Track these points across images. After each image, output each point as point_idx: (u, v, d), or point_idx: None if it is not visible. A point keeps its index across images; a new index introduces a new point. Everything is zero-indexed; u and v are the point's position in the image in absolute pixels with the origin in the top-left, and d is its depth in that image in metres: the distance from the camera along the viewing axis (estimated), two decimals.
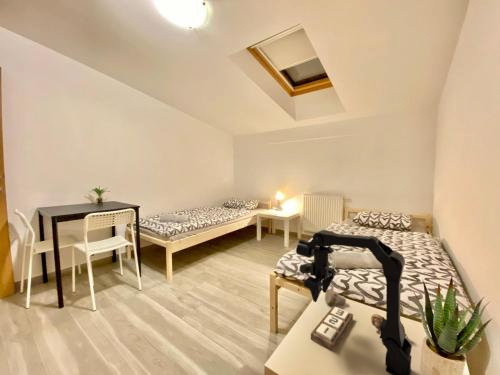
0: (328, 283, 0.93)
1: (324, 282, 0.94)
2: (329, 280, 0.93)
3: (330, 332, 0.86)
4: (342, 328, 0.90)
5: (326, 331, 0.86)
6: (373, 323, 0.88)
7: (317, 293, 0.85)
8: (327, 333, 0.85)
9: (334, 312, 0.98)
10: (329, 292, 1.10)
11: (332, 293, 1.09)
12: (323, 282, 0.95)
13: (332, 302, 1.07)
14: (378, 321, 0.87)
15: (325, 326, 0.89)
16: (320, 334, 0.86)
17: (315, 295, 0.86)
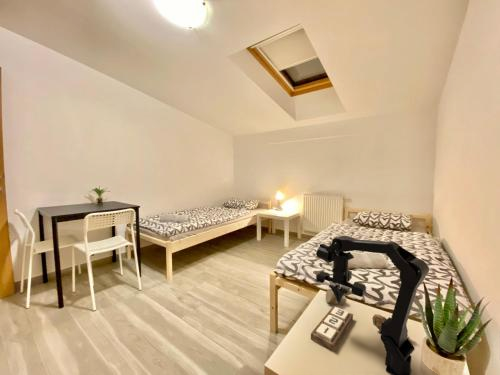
0: (339, 293, 0.89)
1: None
2: None
3: (330, 332, 0.86)
4: (342, 328, 0.90)
5: (326, 331, 0.86)
6: (374, 323, 0.88)
7: None
8: (327, 333, 0.85)
9: (334, 312, 0.98)
10: (329, 291, 1.11)
11: (332, 292, 1.09)
12: None
13: (332, 301, 1.08)
14: (379, 321, 0.87)
15: (325, 326, 0.89)
16: (320, 334, 0.86)
17: None
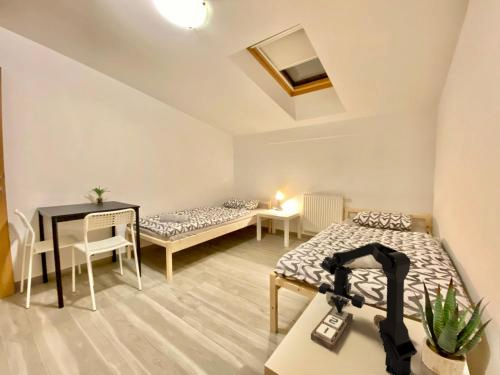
0: None
1: None
2: None
3: (330, 332, 0.86)
4: (342, 328, 0.90)
5: (326, 331, 0.86)
6: (376, 324, 0.88)
7: None
8: (327, 333, 0.85)
9: (334, 312, 0.98)
10: None
11: None
12: None
13: (332, 301, 1.08)
14: None
15: (325, 326, 0.89)
16: (320, 334, 0.86)
17: None
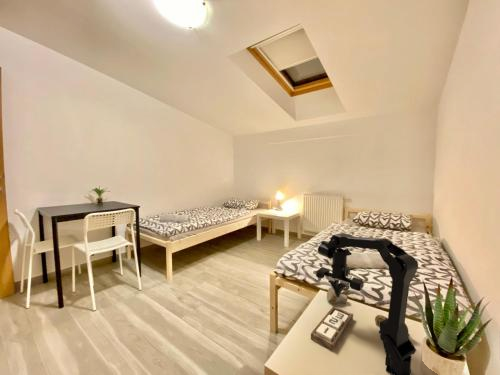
0: None
1: None
2: None
3: (330, 332, 0.86)
4: (342, 328, 0.90)
5: (326, 331, 0.86)
6: (377, 324, 0.88)
7: None
8: (327, 333, 0.85)
9: (334, 315, 0.98)
10: (330, 290, 1.12)
11: (333, 291, 1.10)
12: None
13: (333, 300, 1.09)
14: None
15: (325, 326, 0.89)
16: (320, 334, 0.86)
17: None
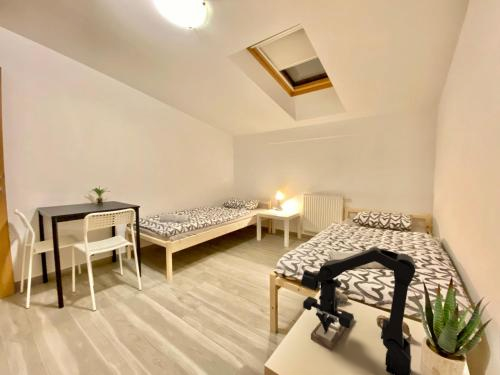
0: None
1: None
2: None
3: (330, 333, 0.86)
4: (342, 328, 0.90)
5: (326, 332, 0.86)
6: (379, 324, 0.88)
7: None
8: (327, 335, 0.85)
9: None
10: None
11: None
12: None
13: None
14: None
15: None
16: (320, 335, 0.86)
17: None
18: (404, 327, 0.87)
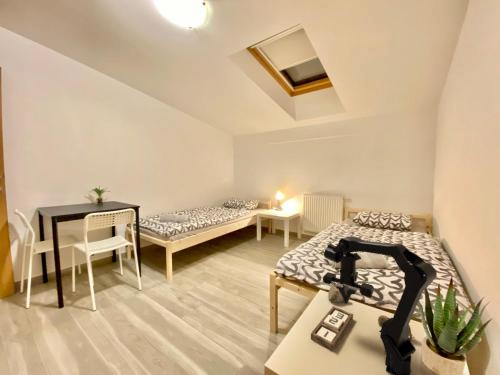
0: (346, 295, 0.89)
1: None
2: (347, 292, 0.88)
3: (330, 336, 0.86)
4: (342, 328, 0.90)
5: (326, 335, 0.86)
6: (380, 325, 0.88)
7: None
8: (327, 337, 0.85)
9: (334, 315, 0.98)
10: (331, 289, 1.13)
11: (334, 290, 1.11)
12: None
13: (333, 299, 1.10)
14: None
15: (325, 330, 0.89)
16: None
17: None
18: None
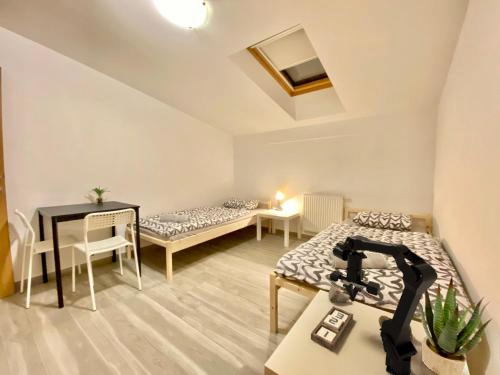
0: (353, 292, 0.90)
1: None
2: None
3: (330, 336, 0.86)
4: (342, 328, 0.90)
5: (326, 335, 0.86)
6: (381, 325, 0.87)
7: None
8: (327, 337, 0.85)
9: (334, 315, 0.98)
10: (332, 289, 1.13)
11: (334, 290, 1.12)
12: None
13: (334, 298, 1.10)
14: None
15: (325, 330, 0.89)
16: None
17: None
18: None
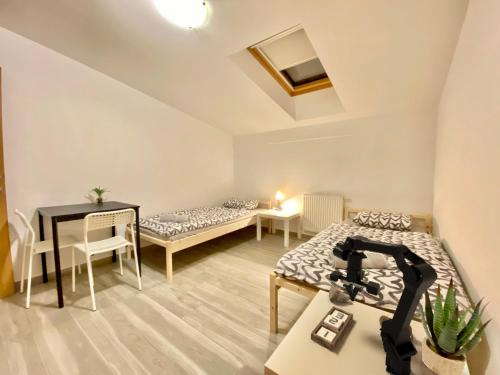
0: (353, 292, 0.90)
1: None
2: None
3: (330, 336, 0.86)
4: (342, 328, 0.90)
5: (326, 335, 0.86)
6: None
7: None
8: (327, 337, 0.85)
9: (334, 315, 0.98)
10: (332, 289, 1.13)
11: (334, 290, 1.12)
12: None
13: (334, 298, 1.10)
14: None
15: (325, 330, 0.89)
16: None
17: None
18: None
